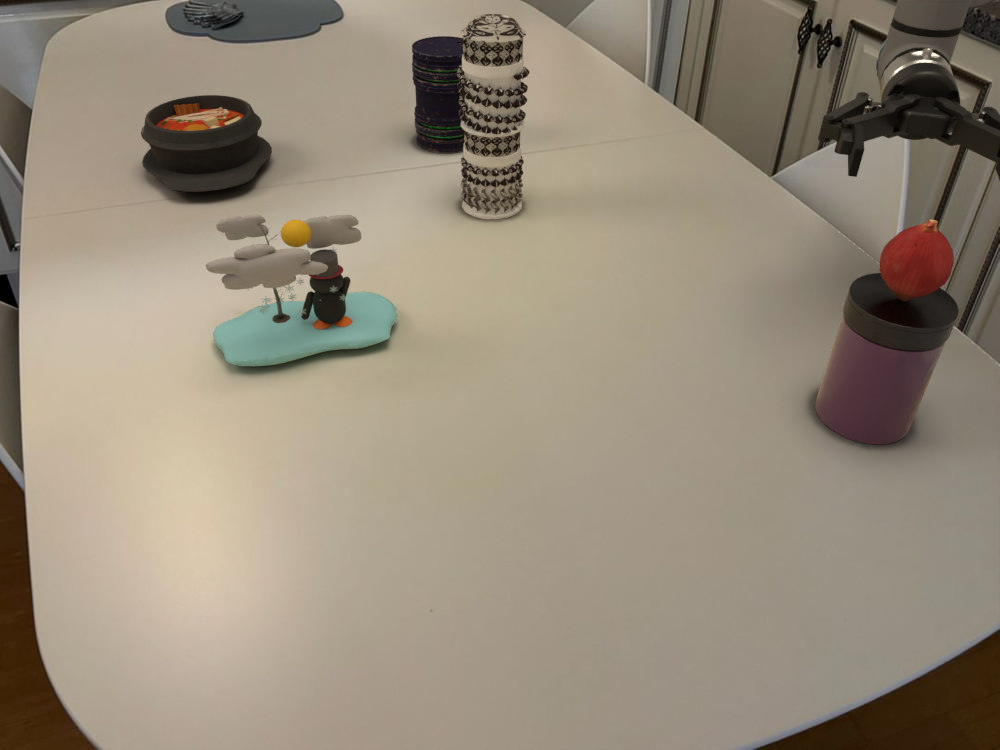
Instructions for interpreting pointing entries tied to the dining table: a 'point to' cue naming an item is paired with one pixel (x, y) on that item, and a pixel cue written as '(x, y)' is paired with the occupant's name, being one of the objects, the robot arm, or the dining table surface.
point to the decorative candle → (492, 115)
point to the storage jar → (438, 93)
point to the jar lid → (899, 315)
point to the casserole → (204, 143)
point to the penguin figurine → (295, 324)
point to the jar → (872, 387)
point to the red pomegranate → (917, 261)
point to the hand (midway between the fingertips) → (934, 173)
